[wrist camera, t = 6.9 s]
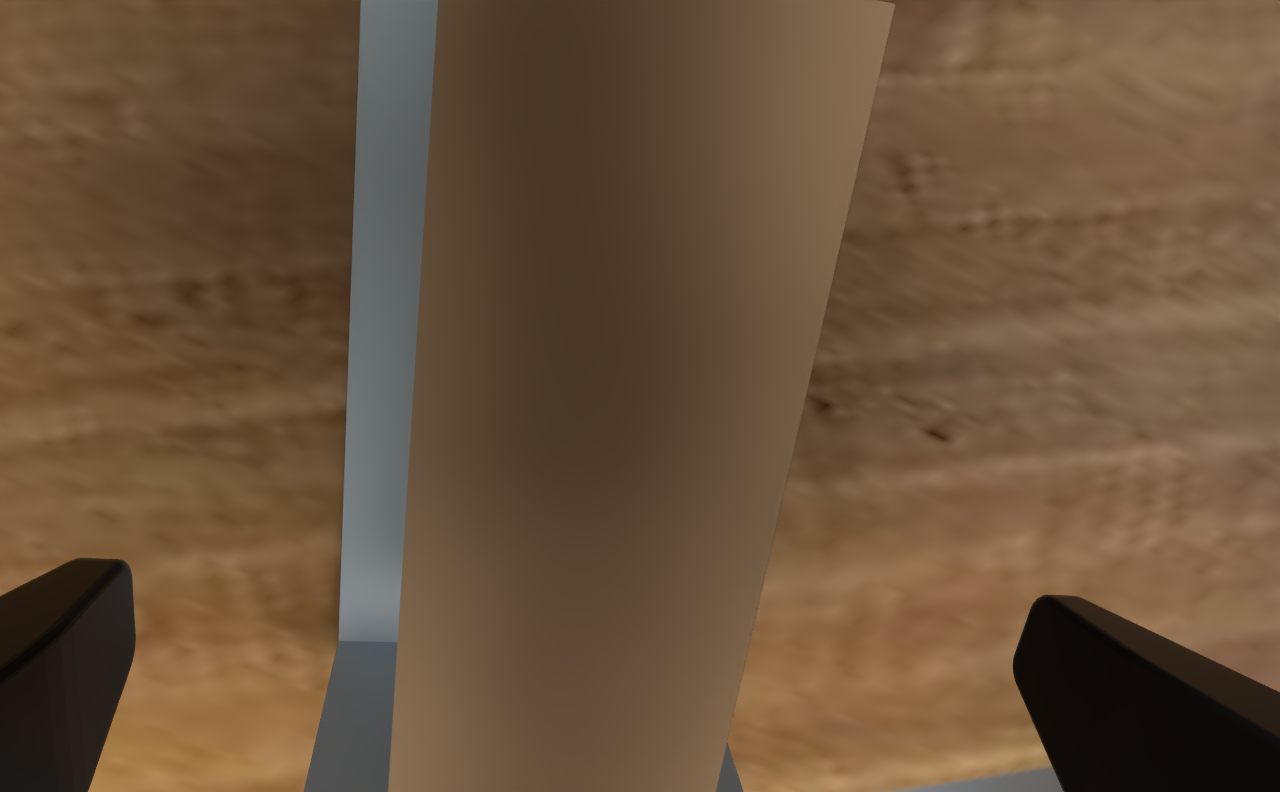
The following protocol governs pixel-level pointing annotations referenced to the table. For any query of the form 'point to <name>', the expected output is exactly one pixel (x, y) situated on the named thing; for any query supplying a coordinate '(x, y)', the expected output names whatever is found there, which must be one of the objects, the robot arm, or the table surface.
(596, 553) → the shelf block
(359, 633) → the peg rack
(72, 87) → the table surface
